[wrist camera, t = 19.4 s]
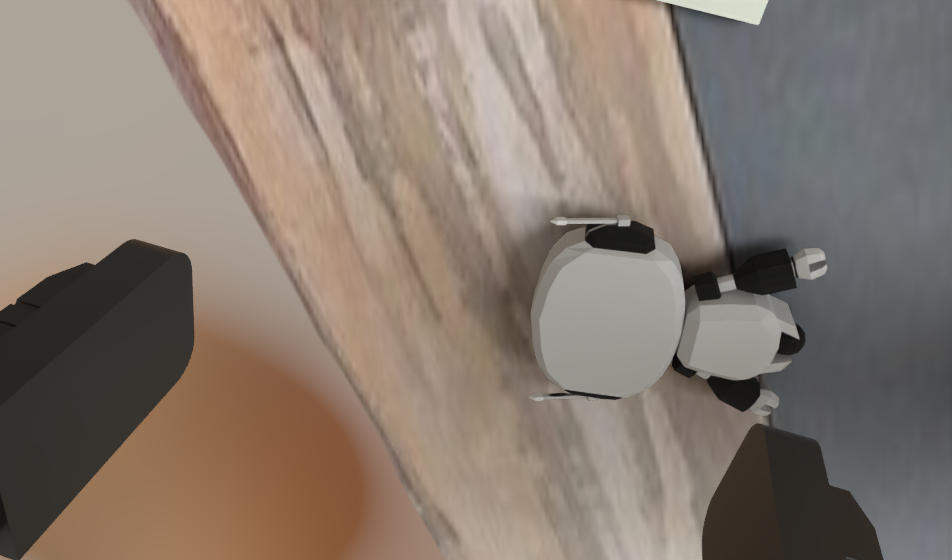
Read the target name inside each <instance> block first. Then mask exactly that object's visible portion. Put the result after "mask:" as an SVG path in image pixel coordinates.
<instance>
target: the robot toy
mask: <svg viewBox="0 0 952 560" xmlns="http://www.w3.org/2000/svg"><path fill="white" fill-rule="evenodd" d="M550 222H552V223H554V224H556V225H567V224H588V225H587V226H586V227H583V228H579V229H575V230H572V231H568V232H566V233H565V234H564V235H563V236H562V237H561V238H560V239H559V240H558V241H557V242H556V243H555V244H554V245H553V247H552V248H551V250H550V251H549V253H548V256H547V258H546V260H545V262H544V264H543V266H542V269H541V272H540V276H539V279H538V282H537V285H536V289H535V292H534V295H533V301H532V307H531V314H530V315H531V328H532V341H533V347H534V352H535V356H536V360H537V362H538V365H539V367H540V368H541V370H542V371H543V373H544V374H545V375H546V377H547V378H548V379H549V380H550V381H552V382H553V383H555V384H557V385H558V386H560V387H561V388H563V389H564V390H565V391H567V392H569V393H555V394H543V393H534V394H532V395H531V396H530V397H529V398H531V399H533V400H534V401H543V399H570V398H587V400H598V398H599V399H612V400H616V399H621V398H627V397H630V396H633V395H636V394H639V393H642V392H644V391H645V390H646V389H648V388H649V387H651V386H652V385H653V384H655V383H656V382H657V381H658V380H659V379H660V377H661V376H662V375H663V373H664V372H665V370H666V369H667V367H668V366H669V364H670V363H671V361H672V358H673V362H672V366H673V368H674V370H675V371H677V372H679V373H680V374H682V375H684V376H686V377H688V378H690V377H692V376H693V375H695V374H697V375H698V376H700V377H702V378H704V379H706V381H707V382H708V384H709V386H710V387H711V389H712V390H713V392H714V393H715V395H716V396H717V397H718V399H719V400H721V401H723V402H725V403H727V404H729V405H731V406H732V407H734V408H736V409H738V410H740V411H742V412H744V411H746V410H747V409H749V410H750V411H751V412H752V413H753V414H756V415H760V416H763V417H764V416H766V415H769V414H770V413H771V412H772V411H771V407H773V408H776V407H778V404H779V397H778V396H777V395H776V394H774V393H773V392H772V391H771V390H769V389H763V388H760V384H759V382H758V381H757V379H756V378H755V377H754V376H756V375H759V374H763V373H771V372H778V371H782V370H783V369H784V368H785V367H786V366H787V365H788V364H790V363H791V362H792V359H791V356H790V355H792V354H795V353H798V352H799V351H800V350H801V349H802V348H803V346H804V344H805V333H804V331H803V330H802V328H801V327H800V326H799V325H797V324H796V323H795V322H794V320H793V317H792V314H791V311H790V309H789V306H788V303H786V302H784V301H782V300H779V299H777V298H775V297H773V296H771V295H769V294H772V293H776V292H781V291H785V290H789V289H794V288H797V287H796V281H795V277H797V278H802V279H809V280H813V279H815V278H817V277H819V276H822V275H824V274H825V272H826V270H827V264H826V262H825V260H826V259H825V254H824V252H823V251H822V250H820V249H819V248H817V247H816V248H803V249H801V250H800V251H799V252H797V253H796V254H795V255H793V256H792V257H791V258H789V255H788V253H787V251H786V249H781V250H777V251H773V252H769V253H765V254H761V255H757V256H753V257H751V258H750V259H749V260H747V261H746V262H745V263H744V264H743V265H741V266H740V267H739V268H738V269H737V270H736V271H735V272H734V273H733V274H730V275H726V276H721V277H716V274H714V273H713V272H712V271H711V272H707V273H703V274H699V275H695V276H693V280H694V285H692V286H691V287H690V288H688V289H687V290H686V291H684V284H683V278H682V272H681V266H680V262H679V259H678V257H677V255H676V253H675V251H674V250H673V248H672V246H671V244H670V243H668V242H666V241H664V240H662V239H660V238H658V237H656V236H654V231H653V229H652V228H650V227H647V226H645V225H643V224H641V223H638V222H636V221H631V219H630V218H629V216H628V215H616V218H566V217H555V218H554V219H552V220H550ZM822 260H823V261H822ZM676 351H677V352H676ZM675 352H676V354H675ZM674 354H675V355H674ZM673 356H674V357H673ZM768 405H769V406H768ZM770 406H771V407H770Z"/></svg>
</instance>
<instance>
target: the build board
mask: <svg viewBox="0 0 952 560" xmlns="http://www.w3.org/2000/svg"><path fill="white" fill-rule="evenodd" d="M658 1H662V2H666V3H670V4H674V5H678V6H682V7H686V8H690V9H694V10H698V11H703V12H707V13H711V14H715V15H719V16H723V17H727V18H731V19H735V20H739V21H743V22H747V23H751V24H755V25H759V23H760V21H761V18H762V15H763V13H764V10H765V8H766V5H767V3H768V0H658Z"/></svg>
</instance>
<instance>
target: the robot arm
mask: <svg viewBox="0 0 952 560" xmlns="http://www.w3.org/2000/svg"><path fill="white" fill-rule="evenodd" d="M193 345H194V316H193V286H192V266H191V261H190V259H189V258H188V256H187V255H186V254H184V253H181V252H177V251H174V250H170V249H167V248H164V247H160V246H157V245H154V244H150V243H147V242H143V241H139V240H136V239H133V240H129V241H126V242H125V243H123V244H122V245H121V246H119V247H118V248H117V249H116V250H114V251H113V252H112V253H110V254H109V255H108V256H106V257H105V258H104V259H102V260H101V261H100V262H99V263H97V264H96V265H93V264H90V263H84V264H81V265H79V266H76V267H73V268H70V269H68V270H65V271H62V272H60V273H57V274H55V275H52V276H49V277H47V278H45V279H44V280H43V281H41V282H40V283H39V284H37V285H36V286H34V287H33V288H32V289H30V290H29V291H28V292H26V293H25V294H23V295H22V296H21V297H19V298H18V299H17V302H16V304H15V305H12V304H10V305H8V306H7V307H6V308H4V309H3V310H2V311H0V555H1V556H4V557H7V558H10V559H13V560H20V559H21V558H22V557H23V555H24V554H25V553H26V552H27V551H28V550H29V549H30V548H31V547H32V545H33V544H34V543H35V542H36V541H37V540H38V539H39V537H40V536H41V535H42V534H43V533H44V532H45V531H46V530H47V528H48V527H49V526H50V525H51V524H52V523H53V522H54V520H55V519H56V518H57V517H58V516H59V515H60V514H61V513H62V511H63V510H64V509H65V508H66V507H67V506H68V505H69V503H70V502H71V501H72V500H73V499H74V498H75V497H76V495H77V494H78V493H79V492H80V491H81V490H82V489H83V488H84V487H85V485H86V484H87V483H88V482H89V481H90V480H91V479H92V477H93V476H94V475H95V474H96V473H97V472H98V471H99V470H100V468H101V467H102V466H103V465H104V464H105V462H106V461H108V459H109V458H110V457H111V456H112V455H113V454H114V453H115V451H116V450H117V449H118V448H119V447H120V446H121V445H122V444H123V442H124V441H125V440H126V439H127V438H128V437H129V436H130V434H131V433H132V432H133V431H134V430H135V429H136V428H137V426H138V425H139V424H140V423H141V422H142V421H143V420H144V419H145V418H146V416H147V415H148V414H149V413H150V412H151V411H152V410H153V408H154V407H155V406H156V405H157V404H158V403H159V402H160V400H161V399H162V398H163V397H164V396H165V395H166V394H167V393H168V391H169V390H170V389H171V388H172V387H173V386H174V385H175V383H176V382H177V381H178V380H179V379H180V377H181V376H182V374H183V373H184V371H185V369H186V367H187V365H188V363H189V360H190V358H191V354H192V351H193ZM702 558H703V560H883V556H882V553H881V549H880V546H879V542H878V538H877V535H876V531H875V528H874V527H873V525H872V524H871V522H870V521H869V519H868V518H867V517H866V515H865V514H864V512H863V511H862V509H861V508H860V506H859V505H858V503H857V502H856V500H855V499H854V497H853V496H852V495H851V493H850V492H849V491H847V490H843V489H840V488H837V487H833V486H830V485H829V483H828V478H827V474H826V469H825V465H824V461H823V456H822V452H821V448H820V446H819V444H818V442H817V441H816V440H814V439H811V438H807V437H804V436H800V435H797V434H794V433H790V432H787V431H783V430H780V429H776V428H773V427H770V426H766V425H763V424H759V423H758V424H755V425H754V426H752V427H751V429H750V430H749V431H748V433H747V435H746V437H745V438H744V440H743V442H742V444H741V446H740V448H739V449H738V451H737V453H736V455H735V457H734V459H733V460H732V462H731V464H730V466H729V468H728V470H727V471H726V473H725V475H724V477H723V479H722V481H721V482H720V484H719V486H718V488H717V490H716V492H715V493H714V495H713V497H712V499H711V502H710V504H709V507H708V510H707V514H706V517H705V522H704V527H703V535H702Z"/></svg>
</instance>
